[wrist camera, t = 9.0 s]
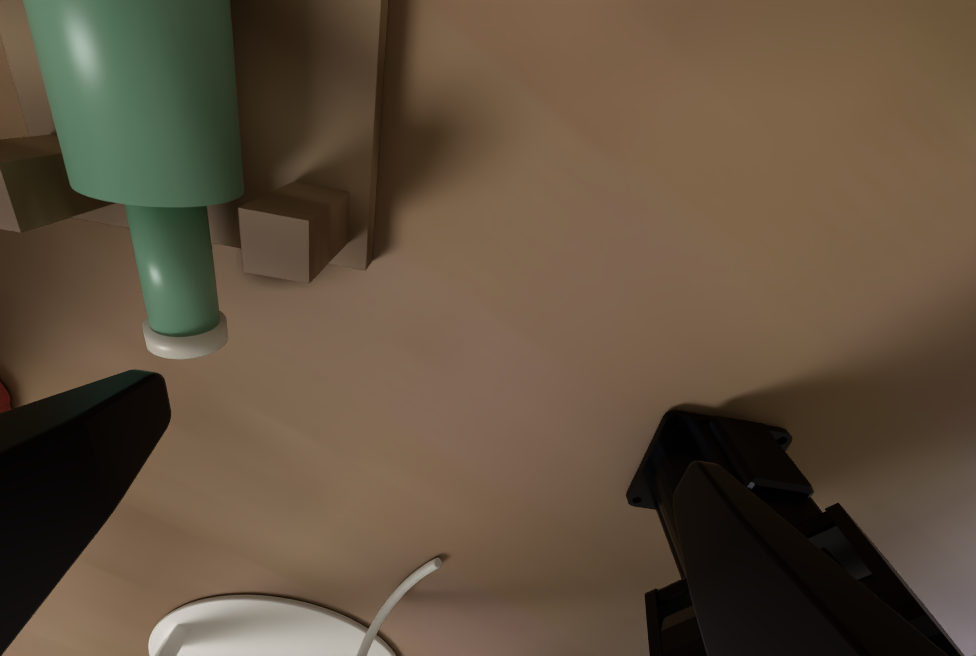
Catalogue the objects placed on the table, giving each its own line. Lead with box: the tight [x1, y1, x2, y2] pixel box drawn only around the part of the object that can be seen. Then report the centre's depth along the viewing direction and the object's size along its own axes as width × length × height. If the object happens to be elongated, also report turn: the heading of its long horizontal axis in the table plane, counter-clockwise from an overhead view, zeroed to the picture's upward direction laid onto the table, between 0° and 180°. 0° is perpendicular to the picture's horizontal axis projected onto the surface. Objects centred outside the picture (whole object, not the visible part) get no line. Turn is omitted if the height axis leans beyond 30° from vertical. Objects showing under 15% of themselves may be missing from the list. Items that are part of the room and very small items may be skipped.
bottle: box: [23, 0, 244, 359], centre depth 13 cm, size 17×4×4 cm, turn 169°
